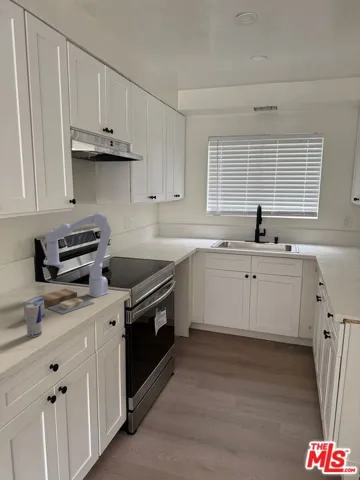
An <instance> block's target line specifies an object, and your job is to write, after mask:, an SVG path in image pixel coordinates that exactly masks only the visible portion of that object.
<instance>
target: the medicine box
mask: <svg viewBox="0 0 360 480" xmlns="http://www.w3.org/2000/svg"><path fill="white" fill-rule="evenodd" d="M32 303H38V304H40V306H41V318H43V317H45V314H46V312H45V311H46V310H45V306H44V298H43V297H37V296H35V297H32V298H30V299H28V300H25V301H23V303H22V304H23V313H24V315H23V316H24V321H25V322H26V306H27V305H28V304H32Z"/></svg>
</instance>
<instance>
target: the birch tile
mask: <svg viewBox="0 0 360 480" xmlns="http://www.w3.org/2000/svg"><path fill="white" fill-rule="evenodd" d="M78 298H79V297H77V298H73V299H70V300H67V301H64V302H60V307H62V308H65V309H71V308H74V307H77V306H80V305H83V300H81V299H82V298H81V299H78Z"/></svg>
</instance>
